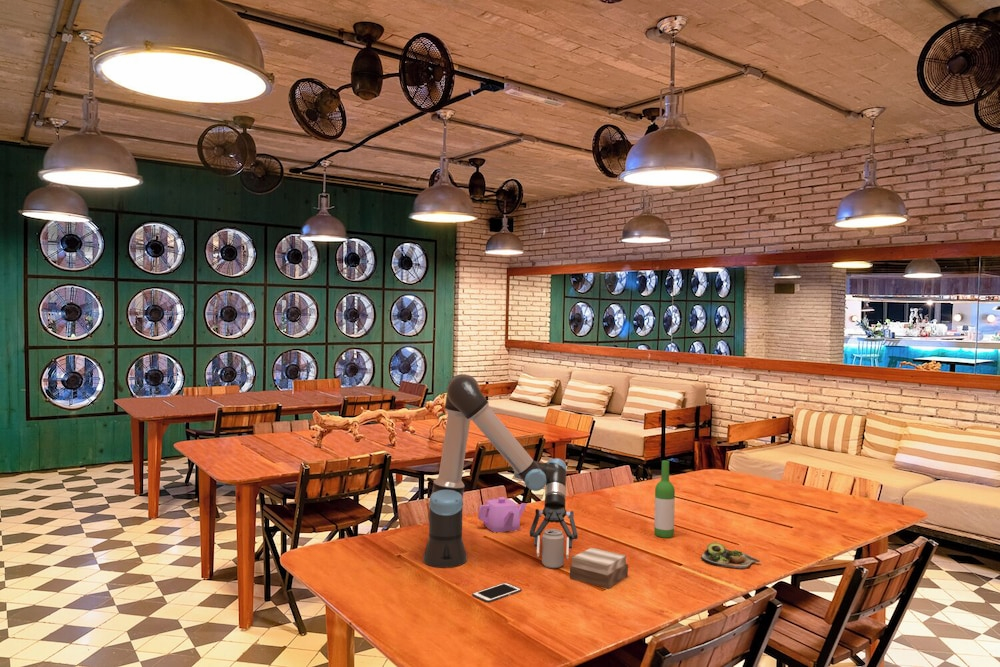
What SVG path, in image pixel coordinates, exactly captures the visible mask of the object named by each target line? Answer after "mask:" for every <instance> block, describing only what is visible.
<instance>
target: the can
mask: <svg viewBox="0 0 1000 667" xmlns="http://www.w3.org/2000/svg"><path fill="white" fill-rule="evenodd" d="M543 531H544V533H543V534H542V539H541V540H542V542H541V544H542V545H541V563H542V565H543V566H544V567H545V568H549V569H559V568H561V567H562V566H564V564H565V563H564V562H565V557H564V556H565V535H564V534H563V531H562V530H561V529H557V528H547V529H544V530H543Z"/></svg>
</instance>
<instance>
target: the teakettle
mask: <svg viewBox="0 0 1000 667" xmlns="http://www.w3.org/2000/svg"><path fill="white" fill-rule="evenodd" d="M527 505H528V504H527V503H525V502H521V503H520V505H518V504H517V503H516V502H515V501H514V500H511V499H510V498H506V497H503V496H499V497H498V498H496V497H495V498H490V499H487V500H486V501H485V504H481V505H479V506H478V516H477V519H478V520H479V521H482V522H483V525H484V527H485V528H486V527H487V528H488V530H489V529H490V530H491V531H490V530H489V531H490V532H492V531H493V533H494V532H502V533H506V532H505V531H513V532H516V531H515V530H518V531H519V530H520V528H521V527H520V525H521V519H520V518H521V517H522V515H523V512H524V511H525V509H526V507H527ZM487 528H486V529H487Z"/></svg>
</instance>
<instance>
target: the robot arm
mask: <svg viewBox="0 0 1000 667" xmlns="http://www.w3.org/2000/svg"><path fill="white" fill-rule="evenodd" d="M444 410H445V411H446V413H447V418H446V424H445V431H444V436H443V437H444V439H443V443H442V444H443V445H442V451H441V459H440V465H439V473H438V477H437V478H435V479H434V480H433V484H432V489H431V490H432V491H431V494H430V497H429V502H428V507H429V508H428V509H429V512H428V514H429V515H428V521H429V522H428V540H427V543H426V547H425V550H424V552H423V562H424V564H426V565H427V566H431V567H437V568H453V567H459V566H461V565H463V564H464V565H465V563H467V557H468V556H467V554H468V553H467V550H466V549H465V544H464V541H463V507H464V499H463V498H464V492H465V484H464V482H463V480H462V478H463V472H464V471H463V470H464V464H465V457H466V451H467V446H468V438H469V433H470V432H469V431H470V425H471V421H472V422H473V423H474V424H475V425H476V426H477V428H478V430H480V431H481V432H482V433H483V435H484V436H485V438H486V439H487V440H488V441H489V442H490V443H491V444H492V446H493V447H494V448H495V449H496V450H497V451H498V452H499V453H500V455H501V456H502V457H503V458H504V460H505V461H506V462H507V463H508V464H509V466H510V467H511V468H512V470H513V472H514V473H513V476H514V478H516V479H519V480H521V481H522V482H523V483H524V485H525V486H526V488H528V489H529V490H530V491H534V492H539V491H541V490H542V489H544V488H545V490H544V491H545V492H544V508H543V509H542V510H540V509H538V508H536V509H535V516H534V518H533V520H532V524H531V526H530V529H529V537H530V538H531V537H532V538H533V539H534V540H533V541H534V542H533V545H534V547H536V557H538V558H539V557H540V548H541V534H542V533H543V531H545V528H546V527H547V525H549V523H556V524H560V526H561V527H562V530H563V531H564V533H565V535H566V551H565V552H566V556H565V557H566V559H569V558H570V555H569V554H570V549H571V550H572V549H573V541H574V540H577V539H578V535H579V534H578V532H577V530H578V529H577V527H576V523H575V518H574V510H571V511H567V510H566V494H567V492H566V491H567V485H566V484H567V474H568V472H567V464H566V462H565V461H564V460H563V459H561V458H557V457H556V458H550V459H548V461H547V462H541V461H536V460H534V459H533V458H532V457H531V455H530V454H529V453H528V451H527V450H526V449H525V448H524V447H523V446H522V444H521V443H520V442H519V441H518V440H517V438H516V437H515V436H514V435H513V434H512V432H511V431H510V430H509V429H508V428H507V426H506V425H504V422H502V421H501V420H500V418H499V417H498V416H497V415H496V414H495V412H494V411H493V410H492V409H491V407H490V406H489V400H488V399H487V398H486V397H485V395H484V394H483V392H482V391H481V389H480V386H479V383H478V381H477V380H476V379H475V378H474V377H473V376H471V375H469V374H465V373H463V374H462V373H461V374H457V375H454V376H453V377H451V379H450V380H449V381H448V384H447V387H446V397H445V404H444ZM542 516H544V518H543V521H541V523H540V525H539V526H538V523H539V520H540V517H542ZM566 516H567V518H568V519H569V522H570V524H569V525H570V528H571V530H570V528H569V526H568V524H567V523H566V521H565V519H564V518H565V517H566ZM537 526H538V527H537ZM571 531H572V532H571Z"/></svg>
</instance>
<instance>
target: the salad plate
mask: <svg viewBox="0 0 1000 667" xmlns="http://www.w3.org/2000/svg"><path fill="white" fill-rule="evenodd" d="M700 559H701V560H702V561H703V562H704V563H706V564H709V565H712V566H716V567H723V568H729V569H747V568H749V567H750V565H751V564H753V563H760V562H761V560H760V559H757V558H754V557H752V556H751V555H749V554H748V553H746V552H745V553H744V552H743V551H740V550H737V549H735V550H729V549H727V548H726V547H725V546H724V545H723V544H722V543H720V542H711V543H709V544H707V546H706V550H704V551H703V554H702V555H701V556H700Z"/></svg>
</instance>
